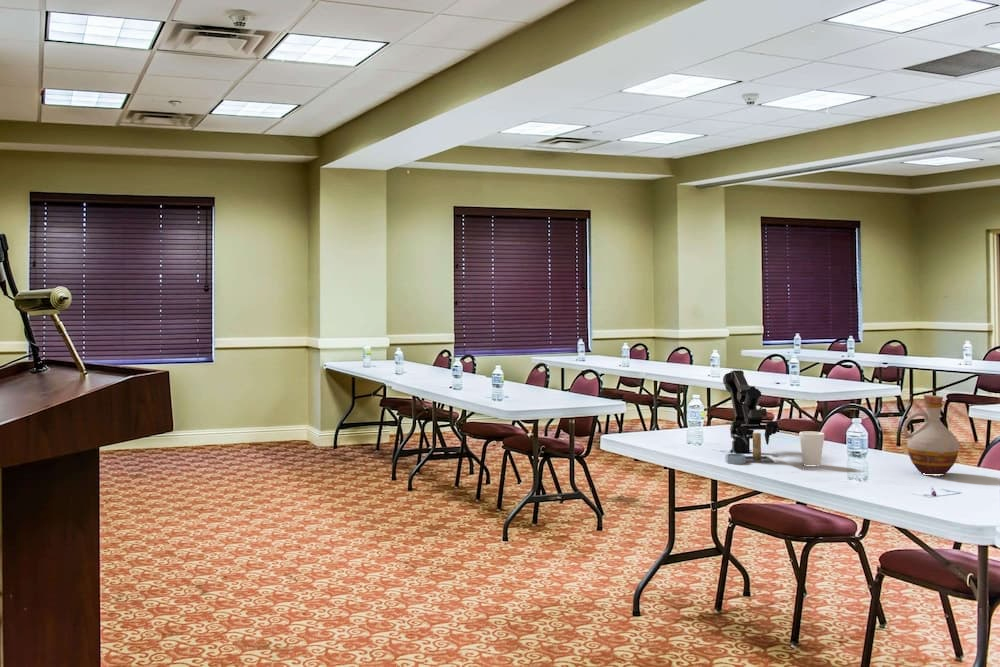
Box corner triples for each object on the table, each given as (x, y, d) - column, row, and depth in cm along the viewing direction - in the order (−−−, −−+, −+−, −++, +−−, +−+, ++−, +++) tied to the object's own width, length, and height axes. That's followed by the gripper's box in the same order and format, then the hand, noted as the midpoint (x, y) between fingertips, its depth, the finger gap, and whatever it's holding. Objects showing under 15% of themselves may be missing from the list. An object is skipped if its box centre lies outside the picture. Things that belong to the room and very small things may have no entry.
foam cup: (825, 464, 369) (825, 432, 368) (822, 468, 360) (823, 435, 360) (800, 462, 373) (800, 430, 372) (797, 466, 364) (798, 434, 364)
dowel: (757, 459, 375) (757, 432, 375) (762, 460, 372) (762, 433, 372) (751, 459, 374) (751, 433, 373) (756, 461, 371) (755, 434, 370)
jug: (906, 477, 340) (907, 397, 339) (897, 468, 358) (898, 392, 356) (964, 479, 336) (965, 398, 335) (952, 470, 353) (953, 393, 352)
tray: (740, 460, 378) (740, 456, 378) (767, 460, 378) (767, 456, 378) (746, 465, 368) (746, 460, 368) (773, 464, 368) (773, 460, 368)
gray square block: (741, 463, 372) (741, 453, 372) (747, 466, 365) (747, 456, 365) (723, 463, 372) (723, 453, 372) (729, 466, 365) (729, 456, 365)
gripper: (731, 401, 376) (738, 432, 366) (777, 401, 376) (785, 432, 365) (727, 418, 384) (733, 448, 374) (771, 418, 384) (779, 448, 374)
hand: (757, 444), depth 371 cm, fingers open, 8 cm apart
